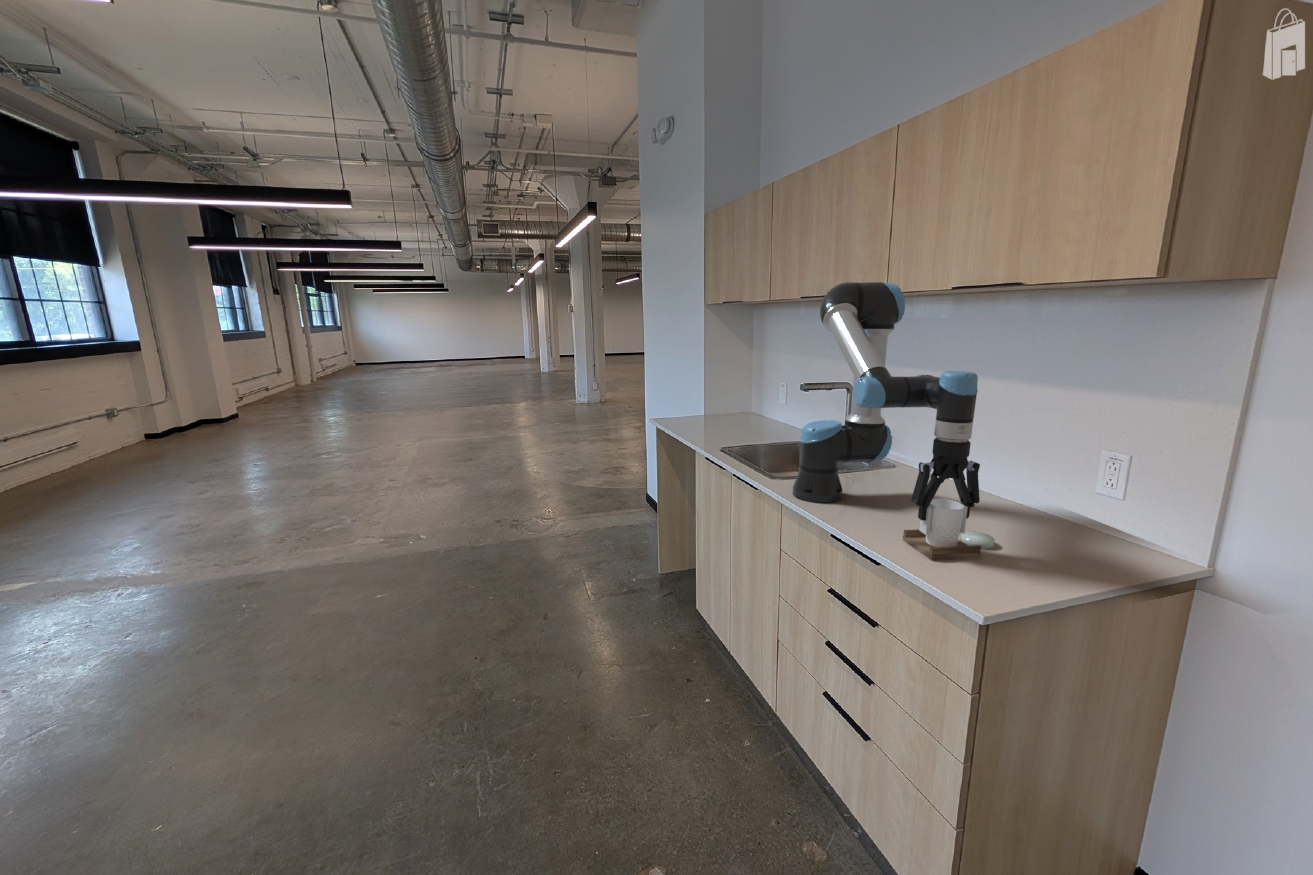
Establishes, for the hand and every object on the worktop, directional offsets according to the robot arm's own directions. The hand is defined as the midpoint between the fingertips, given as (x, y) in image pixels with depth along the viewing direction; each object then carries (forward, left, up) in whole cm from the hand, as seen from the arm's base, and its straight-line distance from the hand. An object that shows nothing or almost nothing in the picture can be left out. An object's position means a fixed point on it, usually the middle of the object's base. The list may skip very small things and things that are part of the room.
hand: (941, 531), depth 129 cm
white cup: (0, 0, -3) cm, 3 cm away
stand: (0, 0, -4) cm, 4 cm away
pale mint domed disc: (-2, +11, -5) cm, 12 cm away
